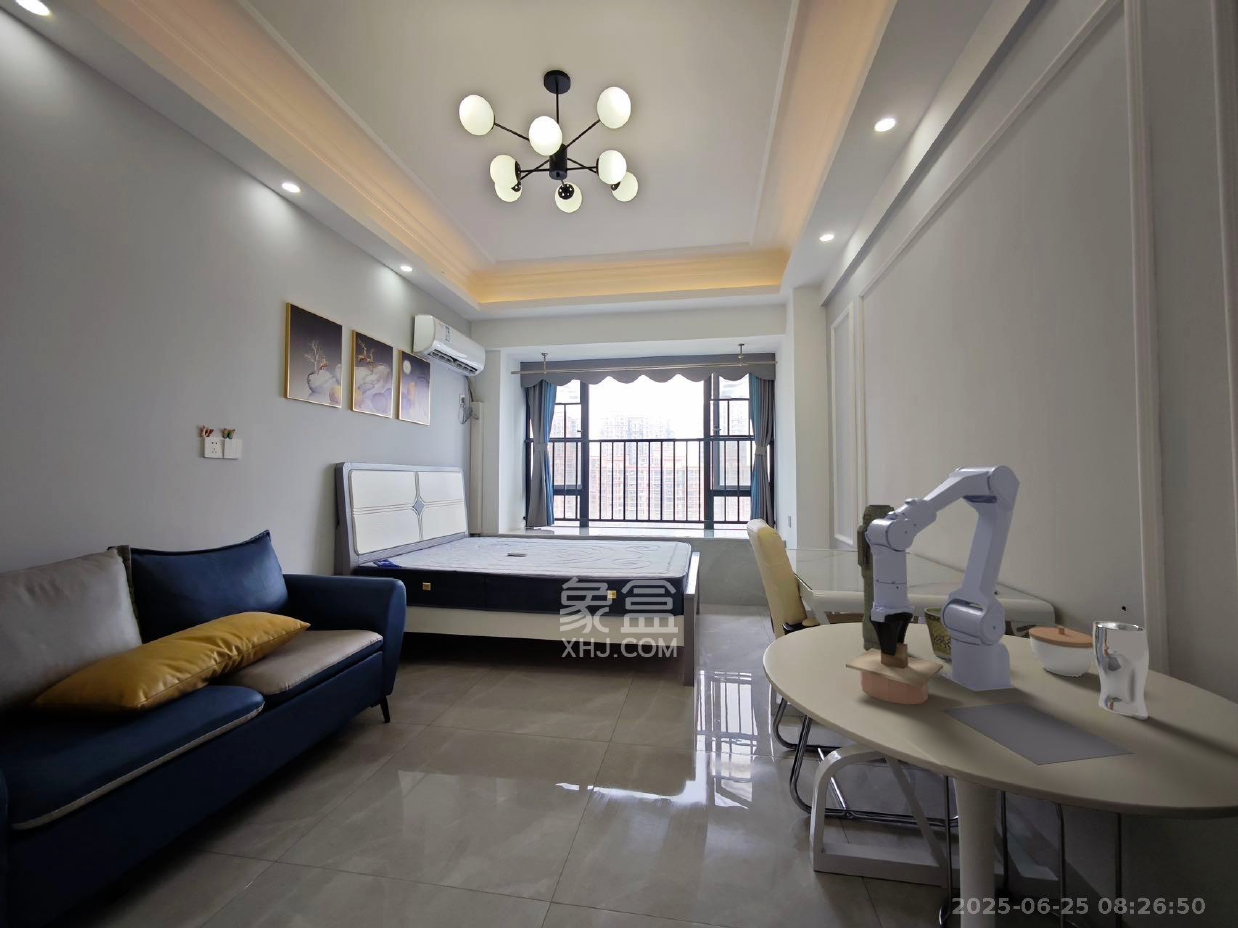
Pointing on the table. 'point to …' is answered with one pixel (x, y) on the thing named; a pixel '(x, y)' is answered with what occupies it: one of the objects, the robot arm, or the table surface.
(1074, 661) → the lidded jar
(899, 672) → the lid
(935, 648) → the ceramic cup
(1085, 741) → the mat
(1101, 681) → the silver metal tumbler
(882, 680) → the bowl
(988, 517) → the robot arm
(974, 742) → the table surface
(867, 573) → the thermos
